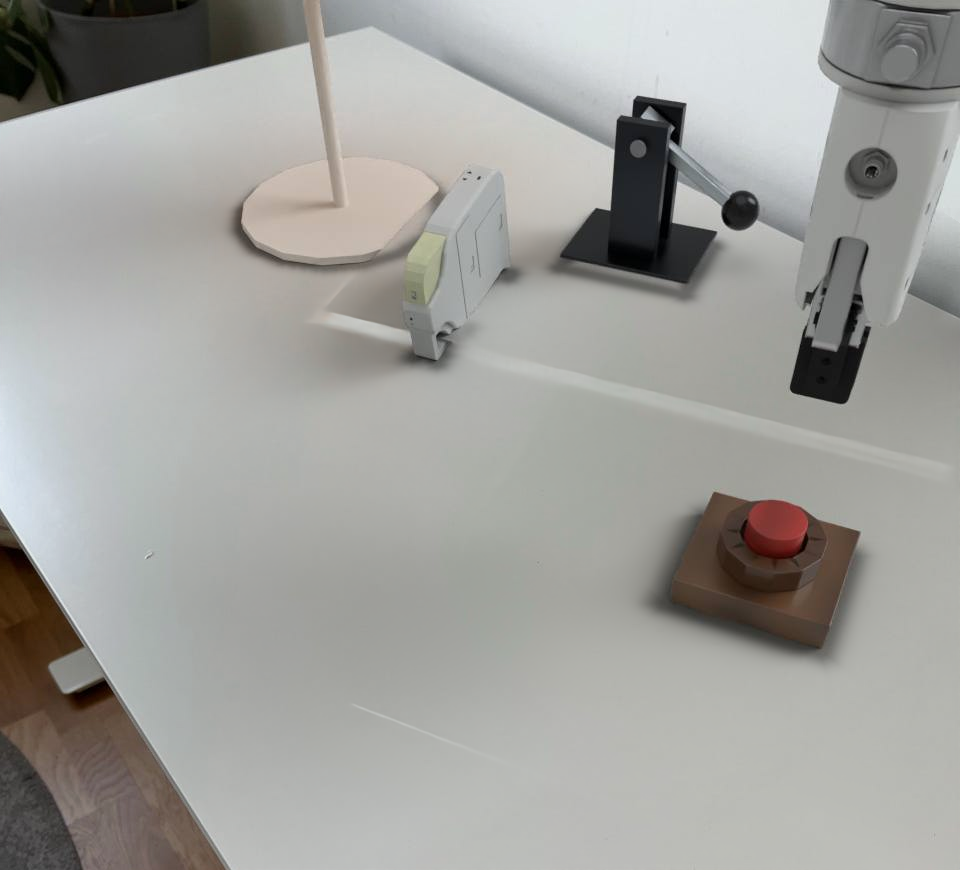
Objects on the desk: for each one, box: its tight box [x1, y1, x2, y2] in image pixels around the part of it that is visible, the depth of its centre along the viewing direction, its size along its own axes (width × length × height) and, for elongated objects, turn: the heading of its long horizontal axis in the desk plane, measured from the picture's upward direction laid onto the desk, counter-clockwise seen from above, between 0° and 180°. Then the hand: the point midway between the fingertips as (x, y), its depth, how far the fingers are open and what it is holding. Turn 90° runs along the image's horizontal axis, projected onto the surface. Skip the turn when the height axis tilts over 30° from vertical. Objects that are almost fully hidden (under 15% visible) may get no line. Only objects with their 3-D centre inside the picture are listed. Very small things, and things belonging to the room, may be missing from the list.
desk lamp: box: [240, 0, 440, 266], centre depth 86 cm, size 30×30×31 cm
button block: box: [668, 491, 862, 649], centre depth 64 cm, size 10×9×4 cm
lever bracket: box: [559, 95, 718, 285], centre depth 86 cm, size 12×9×13 cm
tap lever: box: [640, 106, 761, 232], centre depth 83 cm, size 13×3×3 cm, turn 66°
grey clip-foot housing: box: [402, 164, 512, 361], centre depth 82 cm, size 11×3×15 cm
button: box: [744, 499, 808, 559], centre depth 62 cm, size 4×4×2 cm
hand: (820, 390), depth 55 cm, fingers closed
